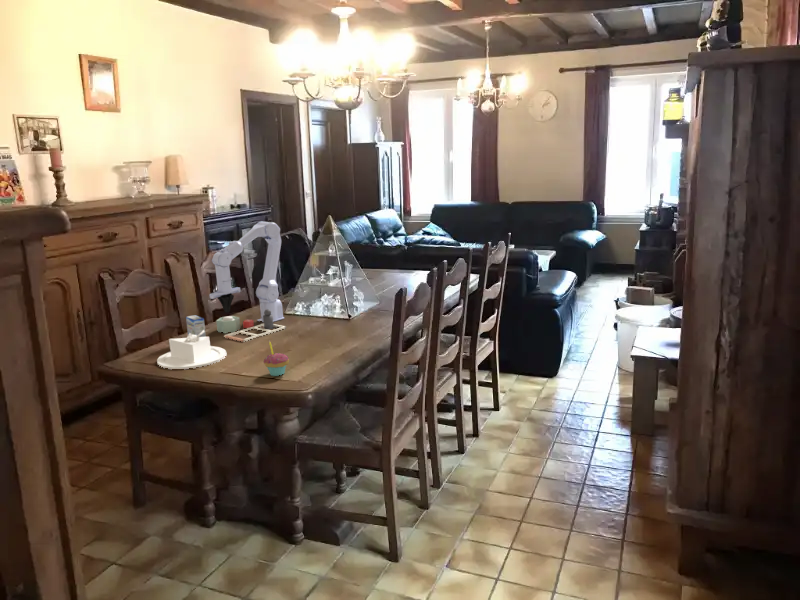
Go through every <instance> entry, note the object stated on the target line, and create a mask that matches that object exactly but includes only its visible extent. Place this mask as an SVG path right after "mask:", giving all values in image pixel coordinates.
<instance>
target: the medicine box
mask: <svg viewBox="0 0 800 600" xmlns="http://www.w3.org/2000/svg"><path fill="white" fill-rule="evenodd" d="M185 319H186V329H187V335H188V334H189V333H191V334H193V335H198V334H199V333H201V332H202V331H203V330H204V331H205V332H204V333H203V334H201V335H200V336H199V337H207V336H206V335H207V333H206V326H205V318H204V317H201V316H198V315H195V314H194V315H188V316H186V317H185Z"/></svg>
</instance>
